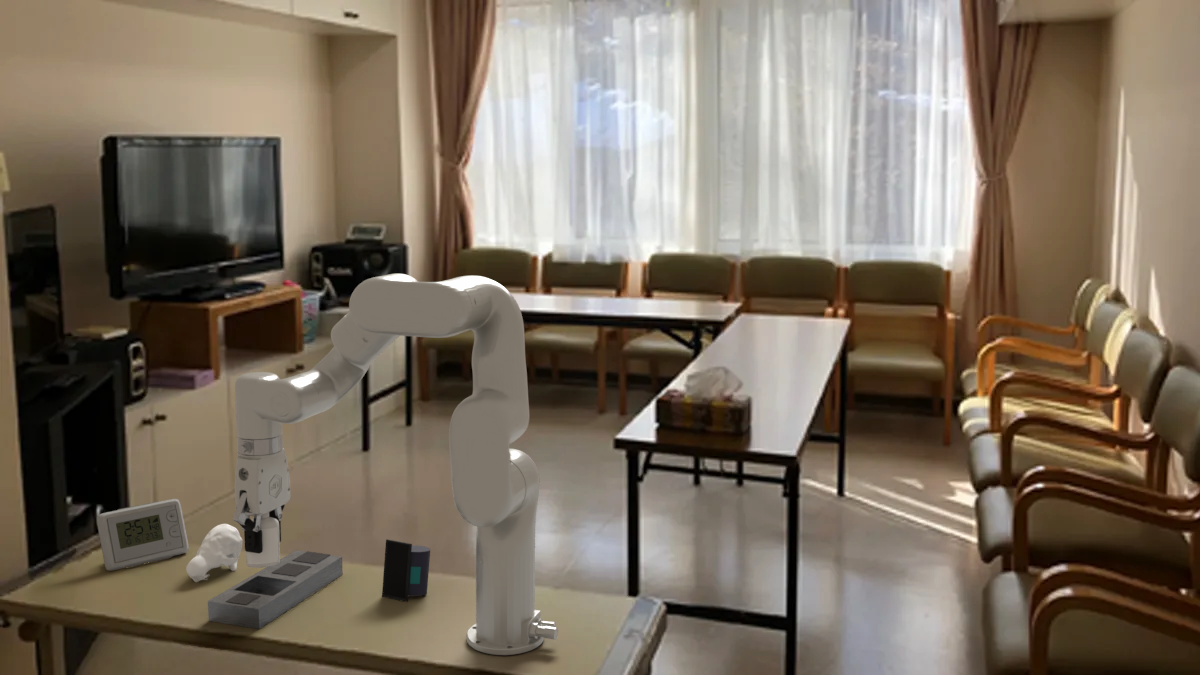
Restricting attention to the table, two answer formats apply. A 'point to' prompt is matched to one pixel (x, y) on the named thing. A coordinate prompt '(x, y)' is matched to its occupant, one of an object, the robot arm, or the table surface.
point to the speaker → (405, 570)
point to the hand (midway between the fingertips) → (263, 545)
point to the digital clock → (142, 534)
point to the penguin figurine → (216, 552)
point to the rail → (274, 589)
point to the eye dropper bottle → (266, 544)
